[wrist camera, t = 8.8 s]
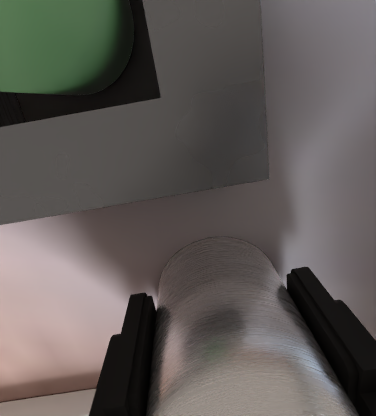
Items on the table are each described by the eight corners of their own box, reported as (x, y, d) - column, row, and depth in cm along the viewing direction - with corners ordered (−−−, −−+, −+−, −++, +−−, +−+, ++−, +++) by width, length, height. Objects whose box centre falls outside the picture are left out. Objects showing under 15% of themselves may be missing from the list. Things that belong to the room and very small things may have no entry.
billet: (273, 227, 10) (520, 555, 3) (278, 323, 12) (434, 671, 5) (147, 248, 10) (71, 611, 3) (171, 339, 12) (161, 701, 5)
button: (114, -73, 7) (53, -239, 3) (146, 84, 8) (125, 72, 5) (-24, -45, 7) (-212, -180, 3) (31, 104, 8) (-67, 108, 5)
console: (204, -253, 6) (229, -584, 3) (241, 155, 9) (269, 178, 6) (-185, -167, 6) (-497, -396, 3) (-9, 198, 9) (-87, 239, 7)
